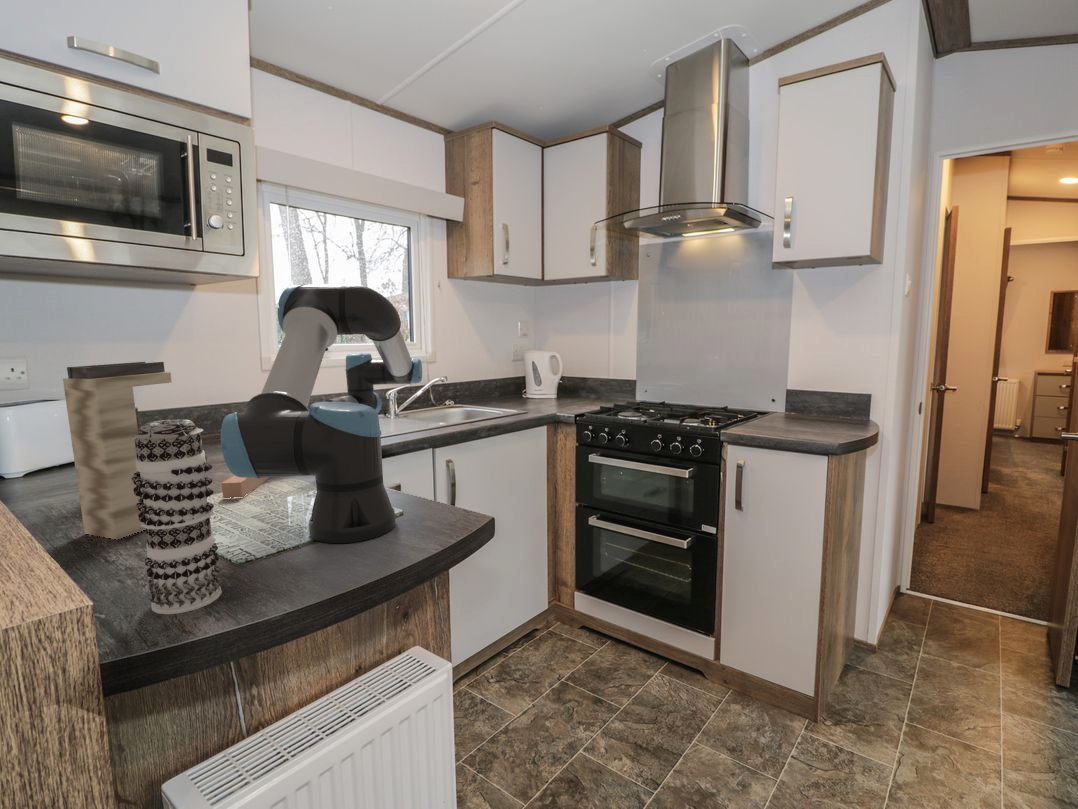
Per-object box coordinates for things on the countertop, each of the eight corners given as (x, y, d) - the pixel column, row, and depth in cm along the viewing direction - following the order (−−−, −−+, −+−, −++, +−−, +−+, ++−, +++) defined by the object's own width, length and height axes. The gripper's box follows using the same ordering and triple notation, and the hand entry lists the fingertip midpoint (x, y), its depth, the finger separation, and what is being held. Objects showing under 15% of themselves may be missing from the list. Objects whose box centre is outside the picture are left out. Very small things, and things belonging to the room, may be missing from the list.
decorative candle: (228, 579, 86) (210, 414, 82) (221, 606, 77) (202, 424, 74) (156, 591, 82) (134, 419, 79) (140, 621, 74) (116, 430, 70)
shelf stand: (186, 515, 115) (169, 361, 111) (117, 540, 103) (94, 367, 98) (156, 511, 118) (137, 361, 114) (84, 534, 106) (61, 367, 102)
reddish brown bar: (273, 476, 146) (272, 460, 146) (242, 499, 126) (240, 482, 126) (256, 477, 146) (255, 461, 145) (223, 500, 126) (221, 483, 125)
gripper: (376, 425, 159) (322, 441, 139) (306, 421, 168) (245, 435, 148) (375, 398, 158) (320, 410, 138) (304, 396, 167) (243, 407, 147)
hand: (281, 423), depth 143 cm, fingers open, 13 cm apart
